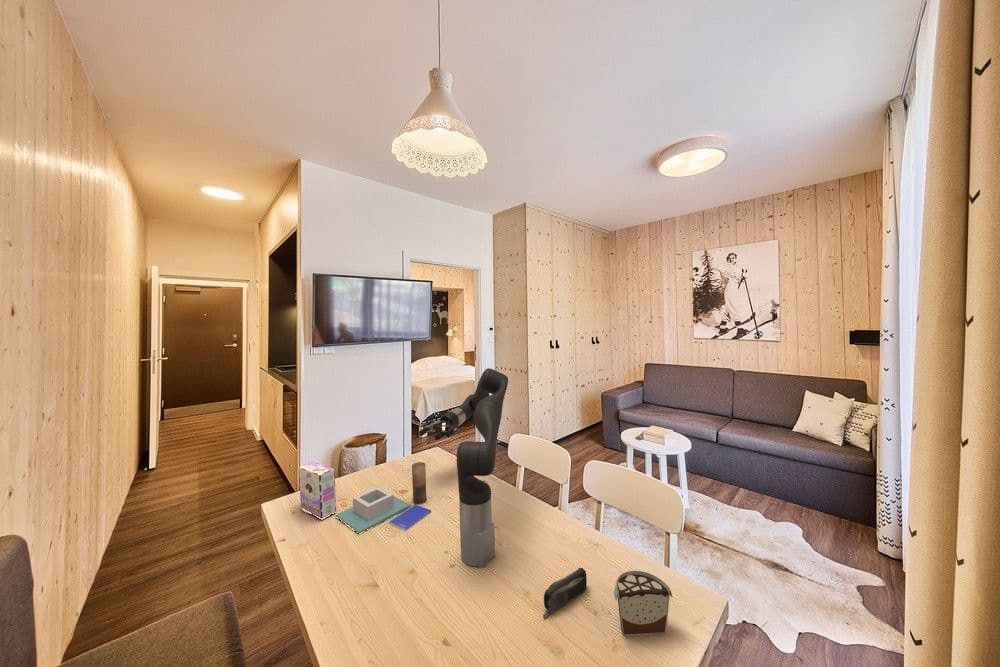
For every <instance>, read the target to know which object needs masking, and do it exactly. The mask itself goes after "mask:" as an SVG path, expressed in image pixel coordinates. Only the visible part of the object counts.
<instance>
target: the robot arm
mask: <svg viewBox="0 0 1000 667" xmlns="http://www.w3.org/2000/svg"><path fill="white" fill-rule="evenodd" d="M508 383H509V378H508V376H507V375H506V374H504V373H502V372H500V371H498V370H495V369H493V368H490V367H489V368H486V369H485V370H484V371H483V372H482V374H481V376H480V378H479V380H478V382H477V385H476V388H475V391H474V393H471V394H469V395H468V396H467V397H466V398H465V399H464V401H463V402H462V403H461V404H460V405H459V406H457V407H456V408H454V409H451V410H449V411H448V412H446V413H445V414H443V415H442V416H441V417H440V419H439V420H437V421H435V420H434V419H430V420H429V421H427V422H426V423H424V424H422V429H420V430H419V431H418V436H419V437H422V436H424V435H426V434H427V433H435V432H438V433H436V434H435V435H434V441H435V442H436V441H439V440H441V439H442V438H445V437H447V438H450V437H451V436H453V435H454V434H455V433H456V432H458V430H457V429H458V428H459V426H461V425H463V423H464V422H466V421H467V420H469V419H470V418H471V417H472V415H473V423H474V427H475V428H476V429H477V431H478V432H479V434H480V435H481V436H482V437H483V439H484V441H462V442H460V443H459V445H458V447H457V450H456V471H457V483H458V484H457V485H458V488H457V489H458V496H459V498H458V501H459V538H460V559H461V561H462V562H463V563H464V564H466V565H468V566H471V567H480V568H483V567H484V566H485V565H487V564H488V563H489V562H490V561H491V560H492V559H493V558H495V556H496V536H495V535H496V532H495V531H496V530H495V527H496V526H495V523H493V522H492V521H493V519H492V513H493V512H492V488H491V486H490V485H489V483H487V482H486V481H484V480H481V479H479V478H478V477H486V476H490V475H492V473H493V472H494V470H495V466H496V457H497V456H496V455H497V444H498V435H499V430H500V425H501V421H502V420H501V419H502V415H503V414H502V413H503V406H504V400H505V396H506V393H507V388H508V385H509V384H508Z"/></svg>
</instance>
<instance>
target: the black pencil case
mask: <svg viewBox="0 0 1000 667" xmlns="http://www.w3.org/2000/svg"><path fill="white" fill-rule="evenodd" d="M587 582H588V581H587V572H586V570H585V569H584V568H583V567H579V568H578V569H576V570H574V571H573V572H571V573H570V574H567V575H566V576H565V577H563V578H561V579H558V580H556V581H554V582H552V583H551V584H550V585H549V587H548V588H547V589H546V590H545V591H544V595H543V605H544V607H545V609H546V613H545V614H543V616H542V617H543V618H544V619H546V618H547V617H548V616H550V615H551V614H552V613H555V611H557V610H559V609H560V608H561V607H564V606H565V605H566V604H569V602H571V601H573V600H574V599H576V598H577V597H578V596H580V595H582V594H583V593H584V592H585V591H586V590H587V586H588V585H587Z"/></svg>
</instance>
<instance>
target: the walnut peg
mask: <svg viewBox="0 0 1000 667" xmlns="http://www.w3.org/2000/svg"><path fill="white" fill-rule="evenodd" d="M426 469H427V468H426V463H425V462H422V461H420V462H419V461H417V462H415V463H413V464H411V478H412V479H411V480H412V484H411V485H412V503H413V504H414V505H423V504H424V503H426V502H427V474H426V473H427V471H426Z"/></svg>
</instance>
